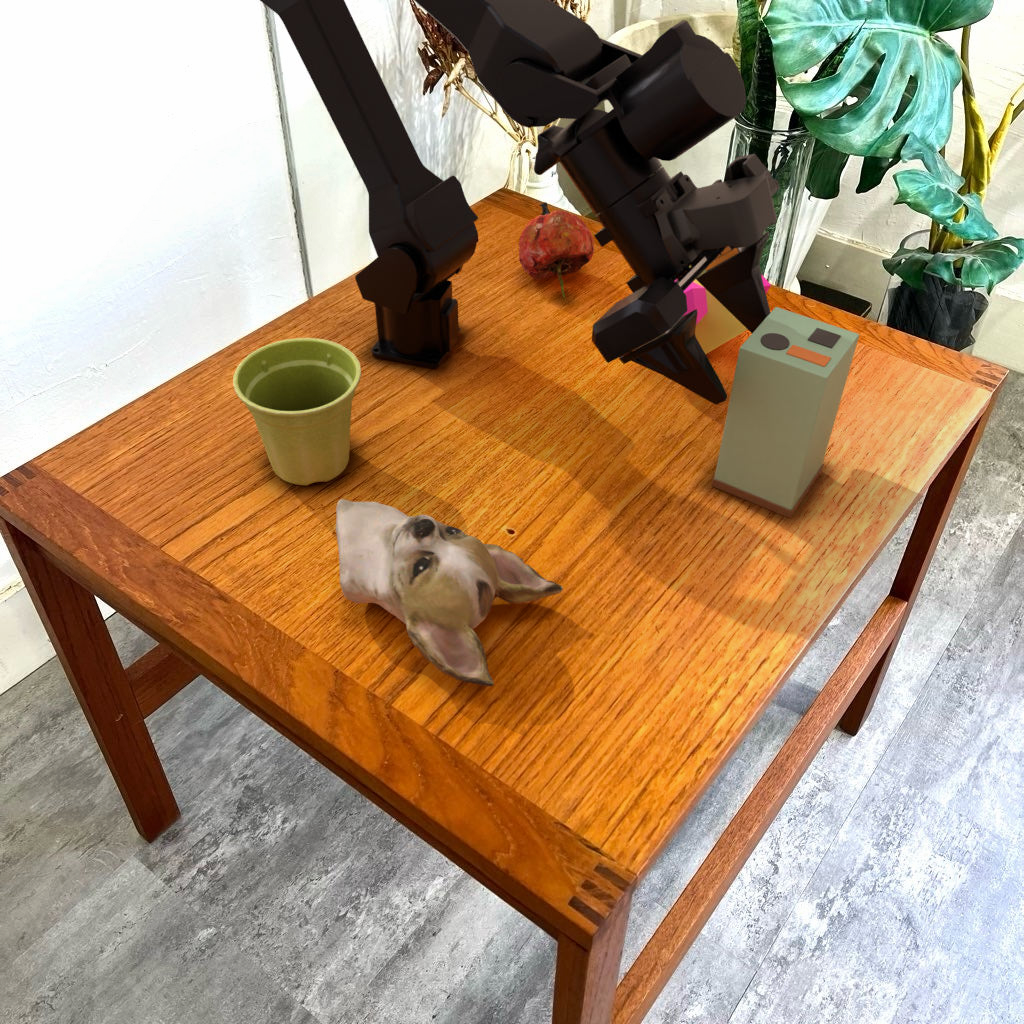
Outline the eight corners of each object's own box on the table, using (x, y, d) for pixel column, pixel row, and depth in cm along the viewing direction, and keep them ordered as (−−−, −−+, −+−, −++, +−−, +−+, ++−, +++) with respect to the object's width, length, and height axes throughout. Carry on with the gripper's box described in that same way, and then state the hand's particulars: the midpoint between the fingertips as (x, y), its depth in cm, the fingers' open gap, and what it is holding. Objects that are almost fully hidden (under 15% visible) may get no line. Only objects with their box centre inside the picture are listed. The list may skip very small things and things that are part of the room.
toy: (794, 333, 98) (784, 222, 95) (712, 373, 84) (698, 243, 81) (698, 340, 104) (686, 235, 101) (607, 378, 90) (591, 258, 87)
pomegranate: (598, 307, 103) (587, 214, 105) (601, 280, 96) (589, 180, 98) (525, 315, 104) (515, 222, 105) (522, 289, 96) (511, 189, 98)
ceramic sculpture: (383, 437, 71) (576, 523, 66) (387, 524, 77) (563, 609, 72) (284, 531, 64) (490, 635, 59) (297, 618, 70) (485, 719, 65)
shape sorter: (710, 485, 81) (737, 346, 72) (745, 441, 85) (774, 303, 76) (790, 518, 78) (828, 377, 69) (822, 471, 82) (862, 332, 73)
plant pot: (392, 444, 84) (384, 356, 78) (330, 515, 78) (316, 426, 72) (295, 413, 87) (280, 326, 81) (228, 480, 81) (206, 391, 75)
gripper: (650, 186, 61) (789, 398, 64) (770, 85, 72) (882, 269, 76) (533, 266, 69) (661, 450, 73) (657, 164, 81) (763, 327, 84)
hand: (747, 370), depth 76 cm, fingers open, 9 cm apart
